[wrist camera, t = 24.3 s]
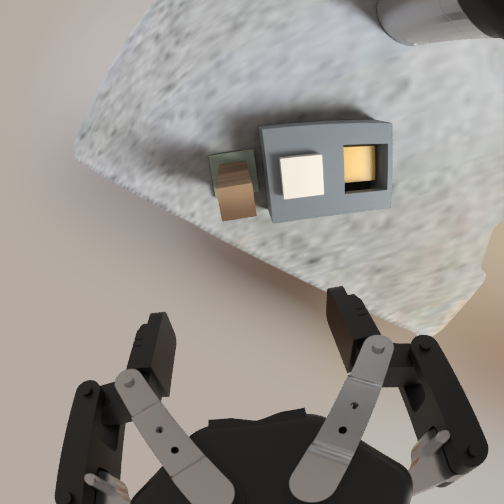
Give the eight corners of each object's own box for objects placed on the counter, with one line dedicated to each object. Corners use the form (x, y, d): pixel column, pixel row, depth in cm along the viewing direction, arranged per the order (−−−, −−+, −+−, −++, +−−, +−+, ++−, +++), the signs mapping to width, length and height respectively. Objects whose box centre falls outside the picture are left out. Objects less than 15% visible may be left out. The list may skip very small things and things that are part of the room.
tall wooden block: (219, 165, 37) (216, 188, 27) (245, 160, 37) (252, 182, 27) (223, 189, 39) (222, 221, 29) (249, 185, 39) (256, 215, 29)
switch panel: (257, 126, 35) (262, 129, 31) (374, 119, 36) (392, 123, 31) (268, 209, 41) (273, 223, 37) (375, 196, 41) (390, 208, 37)
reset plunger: (336, 145, 37) (342, 147, 35) (368, 143, 37) (375, 145, 35) (338, 179, 39) (343, 183, 37) (369, 176, 39) (375, 180, 37)
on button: (275, 153, 35) (280, 158, 32) (313, 149, 35) (322, 154, 32) (279, 190, 37) (284, 199, 34) (315, 186, 37) (324, 194, 34)
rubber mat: (208, 155, 37) (208, 156, 36) (253, 148, 37) (253, 149, 36) (215, 197, 40) (215, 198, 39) (258, 190, 40) (259, 191, 39)
